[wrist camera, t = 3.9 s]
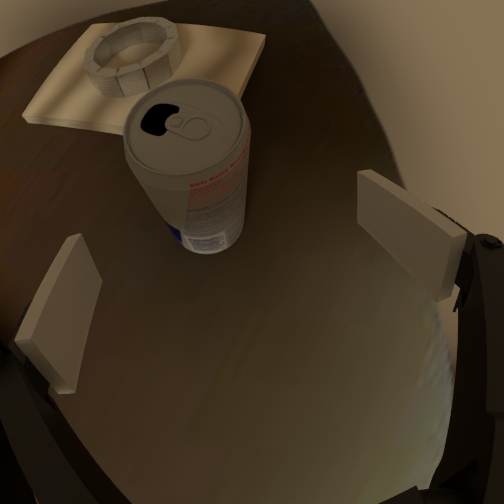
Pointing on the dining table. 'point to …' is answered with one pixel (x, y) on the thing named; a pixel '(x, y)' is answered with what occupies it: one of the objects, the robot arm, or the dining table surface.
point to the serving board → (117, 109)
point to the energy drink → (192, 159)
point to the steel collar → (137, 74)
